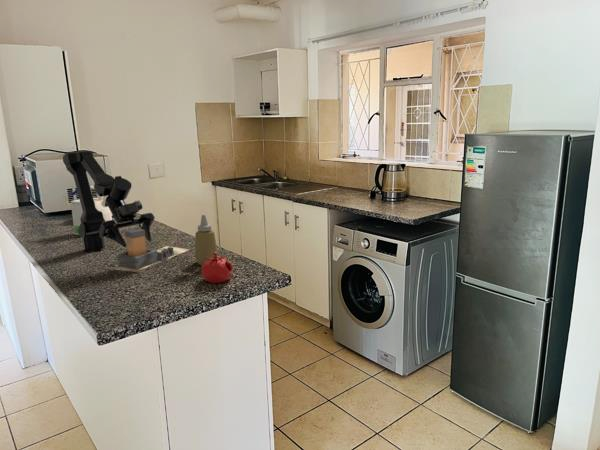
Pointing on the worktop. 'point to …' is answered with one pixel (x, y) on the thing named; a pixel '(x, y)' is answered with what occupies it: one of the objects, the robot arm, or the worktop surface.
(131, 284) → the worktop surface
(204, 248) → the squeeze bottle
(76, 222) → the skincare box
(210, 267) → the pomegranate
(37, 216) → the worktop surface
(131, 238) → the plug
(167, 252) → the board
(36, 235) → the worktop surface
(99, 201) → the kettle
